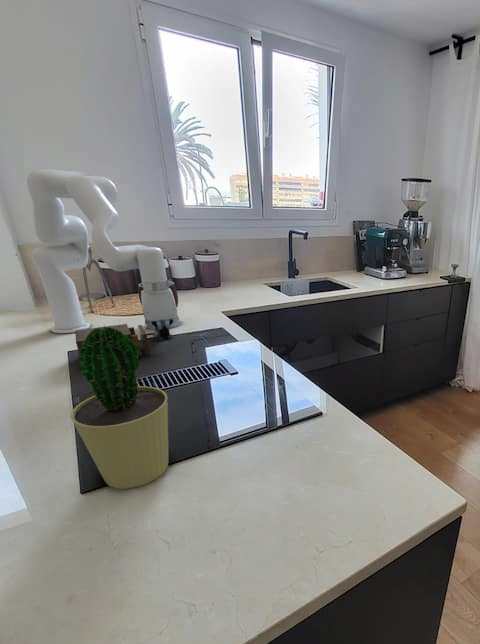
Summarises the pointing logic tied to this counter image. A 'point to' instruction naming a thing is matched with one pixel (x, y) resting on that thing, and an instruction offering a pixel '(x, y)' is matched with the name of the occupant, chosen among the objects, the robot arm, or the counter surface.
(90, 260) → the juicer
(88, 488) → the counter surface
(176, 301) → the mate gourd
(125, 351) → the potted cactus
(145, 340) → the drawer
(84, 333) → the cabinet
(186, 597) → the counter surface
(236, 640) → the counter surface
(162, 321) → the bottle opener
